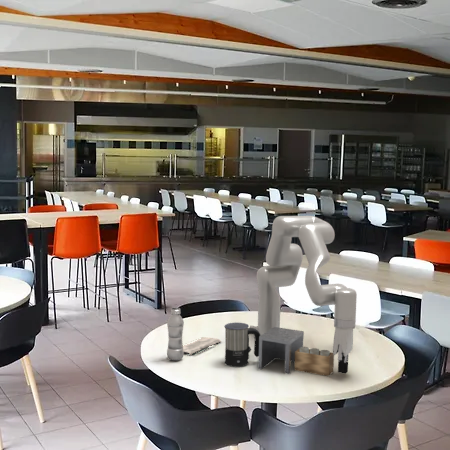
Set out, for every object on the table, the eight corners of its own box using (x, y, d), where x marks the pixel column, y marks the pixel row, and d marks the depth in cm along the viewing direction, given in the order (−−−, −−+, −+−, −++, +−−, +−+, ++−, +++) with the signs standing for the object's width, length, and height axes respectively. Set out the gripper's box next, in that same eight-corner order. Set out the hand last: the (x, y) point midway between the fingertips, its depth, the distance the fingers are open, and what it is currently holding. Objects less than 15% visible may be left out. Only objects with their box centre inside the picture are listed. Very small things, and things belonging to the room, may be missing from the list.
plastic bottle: (186, 358, 245) (186, 307, 243) (179, 363, 239) (180, 311, 237) (171, 356, 247) (171, 306, 245) (163, 361, 241) (164, 310, 239)
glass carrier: (294, 370, 234) (295, 349, 233) (299, 365, 239) (300, 344, 238) (328, 376, 228) (329, 354, 227) (333, 371, 233) (334, 350, 232)
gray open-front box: (258, 368, 235) (259, 336, 234) (273, 357, 248) (274, 326, 247) (288, 374, 230) (289, 341, 228) (302, 362, 243) (303, 331, 242)
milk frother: (230, 368, 234) (231, 329, 233) (212, 356, 248) (213, 319, 247) (264, 363, 240) (265, 325, 239) (244, 351, 255) (245, 315, 253)
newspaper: (194, 358, 247) (193, 352, 247) (169, 355, 254) (169, 349, 254) (226, 344, 266) (225, 338, 266) (202, 342, 273) (202, 336, 273)
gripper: (340, 316, 235) (338, 364, 237) (328, 326, 221) (326, 377, 223) (360, 319, 231) (358, 368, 233) (349, 329, 218) (347, 380, 220)
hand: (342, 372), depth 228 cm, fingers closed
